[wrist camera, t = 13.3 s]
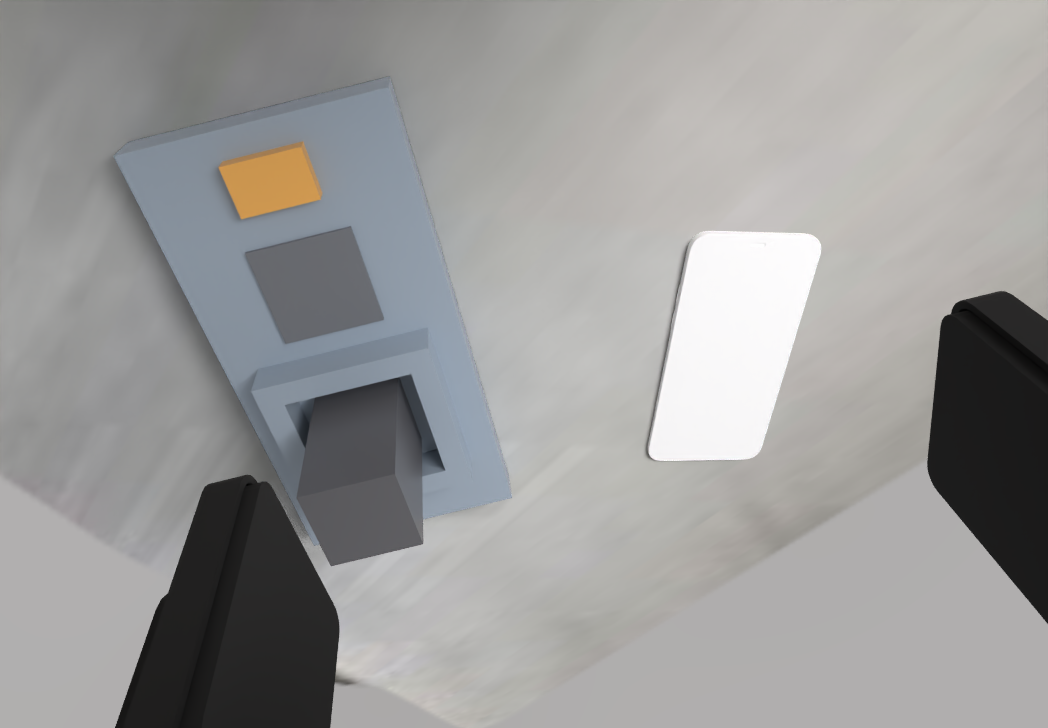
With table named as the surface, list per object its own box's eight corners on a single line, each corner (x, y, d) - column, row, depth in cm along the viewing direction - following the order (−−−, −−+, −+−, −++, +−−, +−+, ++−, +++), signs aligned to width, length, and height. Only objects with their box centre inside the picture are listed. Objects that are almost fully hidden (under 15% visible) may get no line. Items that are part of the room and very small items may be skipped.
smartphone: (645, 461, 48) (692, 233, 40) (642, 453, 49) (688, 227, 41) (758, 459, 49) (826, 237, 41) (754, 451, 50) (820, 231, 42)
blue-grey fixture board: (127, 142, 35) (97, 171, 32) (389, 76, 35) (387, 99, 31) (317, 521, 48) (310, 571, 45) (508, 475, 48) (515, 521, 44)
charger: (315, 393, 41) (296, 497, 34) (398, 373, 41) (394, 473, 34) (344, 458, 43) (332, 568, 36) (422, 439, 43) (423, 546, 36)
